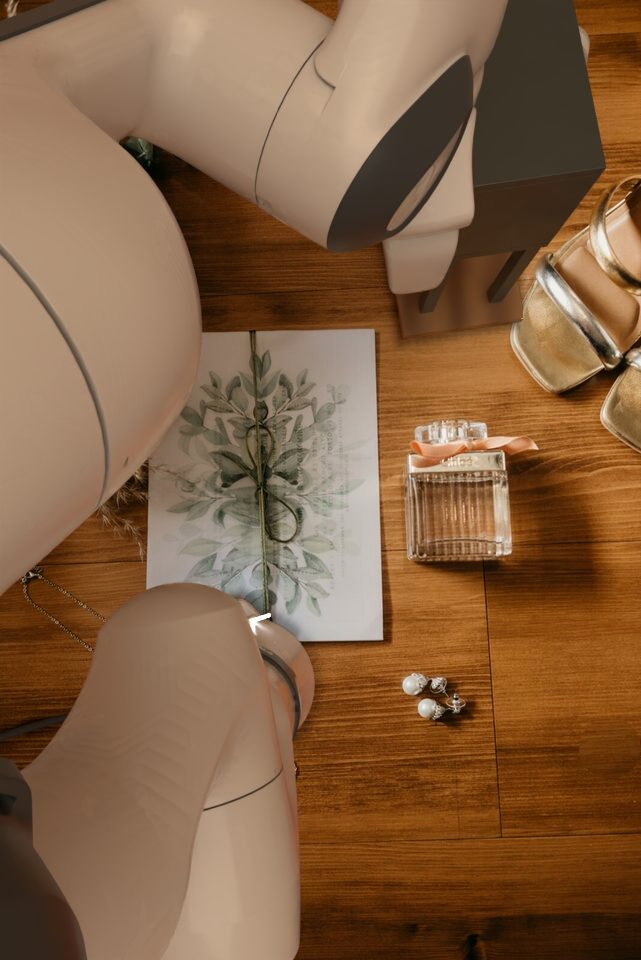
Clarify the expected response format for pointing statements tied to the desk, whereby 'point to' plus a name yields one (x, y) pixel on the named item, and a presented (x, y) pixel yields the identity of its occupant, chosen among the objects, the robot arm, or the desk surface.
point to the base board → (462, 301)
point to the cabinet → (528, 141)
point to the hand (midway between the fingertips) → (388, 198)
